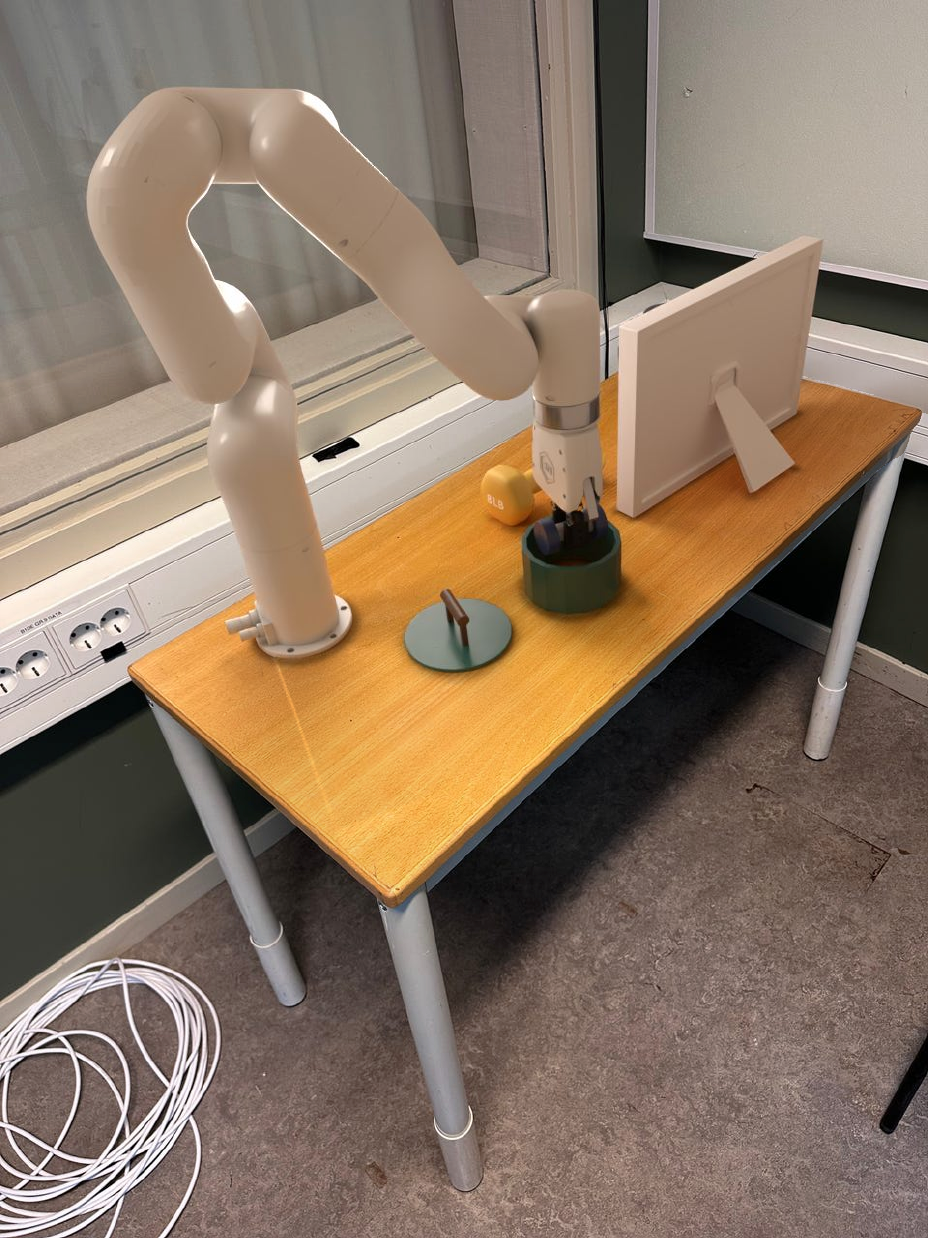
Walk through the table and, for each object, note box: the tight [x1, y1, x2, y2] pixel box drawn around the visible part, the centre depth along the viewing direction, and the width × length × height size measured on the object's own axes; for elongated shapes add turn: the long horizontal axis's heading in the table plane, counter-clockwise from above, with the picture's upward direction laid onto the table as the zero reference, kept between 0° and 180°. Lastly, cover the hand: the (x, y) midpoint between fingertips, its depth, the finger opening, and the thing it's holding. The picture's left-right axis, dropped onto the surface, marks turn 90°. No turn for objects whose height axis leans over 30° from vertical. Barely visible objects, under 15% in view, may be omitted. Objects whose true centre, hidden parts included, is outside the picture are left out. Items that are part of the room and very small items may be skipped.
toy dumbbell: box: [533, 503, 609, 555], centre depth 110 cm, size 8×4×4 cm, turn 112°
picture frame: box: [616, 235, 824, 519], centre depth 125 cm, size 40×12×28 cm, turn 131°
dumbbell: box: [480, 447, 607, 527], centre depth 130 cm, size 19×9×8 cm, turn 129°
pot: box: [520, 514, 623, 615], centre depth 114 cm, size 12×12×8 cm
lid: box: [403, 588, 513, 673], centre depth 109 cm, size 13×13×6 cm
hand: (571, 539), depth 112 cm, fingers closed on toy dumbbell, 2 cm apart
